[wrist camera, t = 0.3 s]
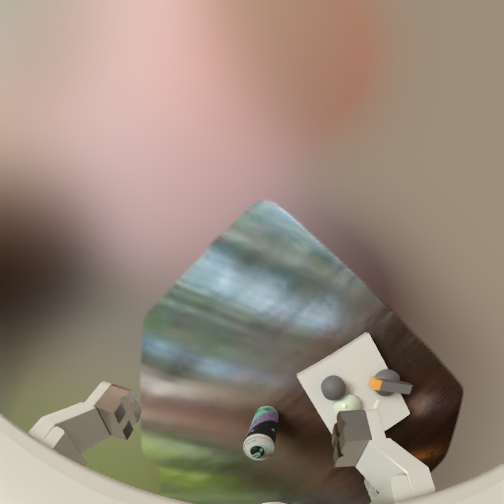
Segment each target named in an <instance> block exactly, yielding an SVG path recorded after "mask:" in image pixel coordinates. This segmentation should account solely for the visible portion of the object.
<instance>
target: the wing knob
mask: <svg viewBox="0 0 504 504" xmlns="http://www.w3.org/2000/svg"><path fill="white" fill-rule="evenodd" d="M368 386H369V387H370V388H371V389H372V390H375V392H377V393H378V394H379V395H380V396H385V397H386V396H390V395H392V394H394V393H403V394H410V392H411V389H412V386H413V385H411V384H409V383H408V382H404V381H400V377H399V375H398V374H397V373H396V372H395V371H393V370H391V369H384V370H381V371H380V372H378V373H377V374H376V375H375V377H373V376H370V380H369V383H368Z"/></svg>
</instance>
